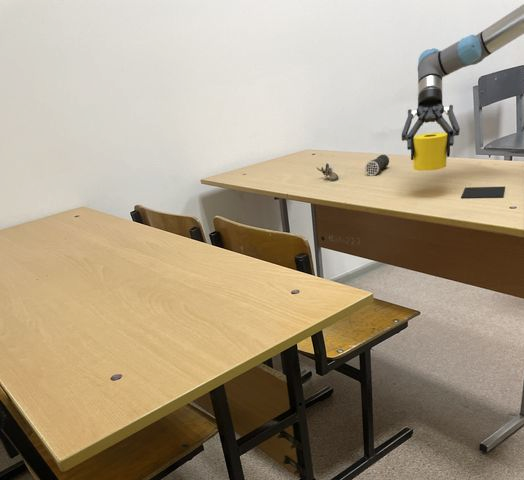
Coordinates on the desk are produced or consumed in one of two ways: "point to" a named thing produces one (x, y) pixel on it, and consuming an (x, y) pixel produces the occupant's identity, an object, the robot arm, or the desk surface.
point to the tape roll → (430, 151)
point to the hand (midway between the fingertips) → (430, 155)
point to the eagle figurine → (329, 172)
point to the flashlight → (376, 165)
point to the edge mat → (483, 192)
